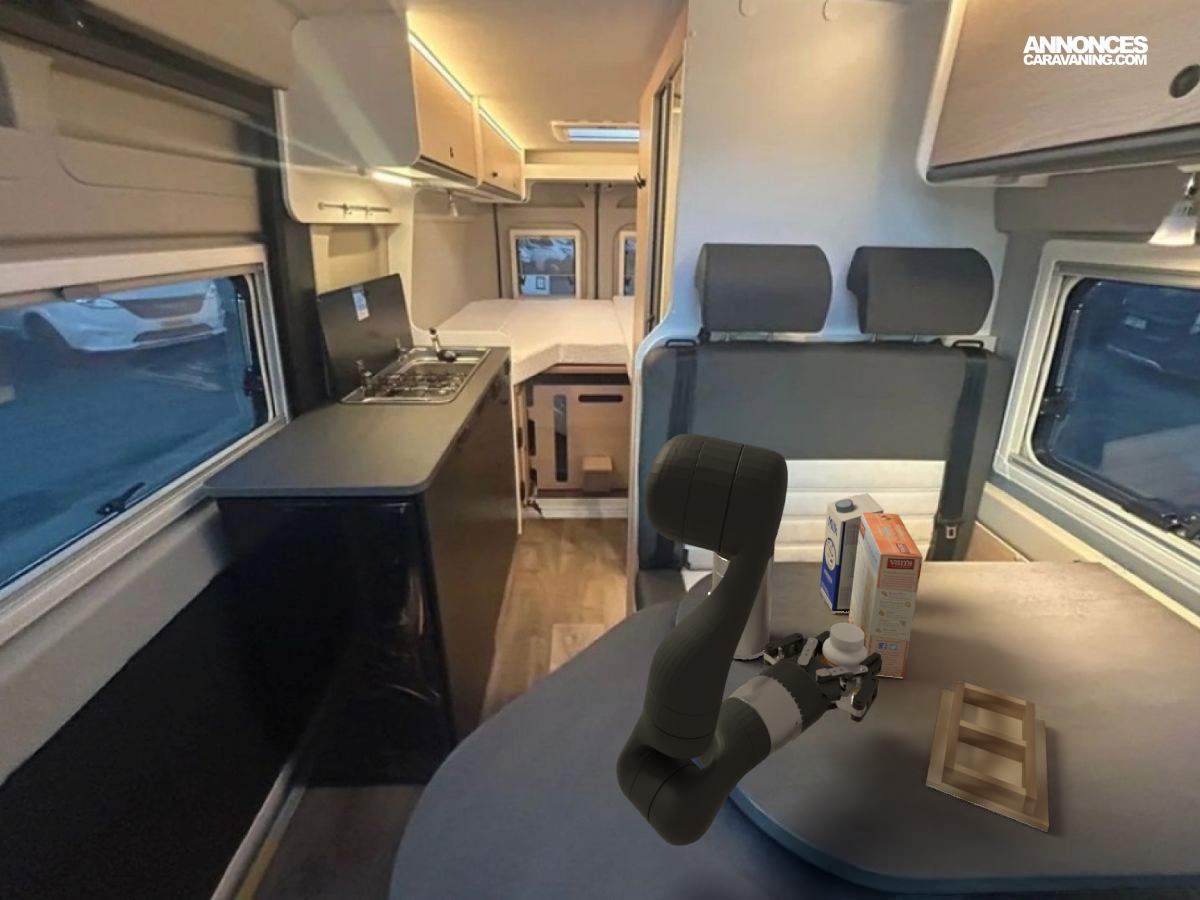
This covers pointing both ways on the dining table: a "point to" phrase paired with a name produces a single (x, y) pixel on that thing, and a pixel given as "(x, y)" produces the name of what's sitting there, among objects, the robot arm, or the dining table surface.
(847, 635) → the supplement bottle
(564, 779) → the dining table surface
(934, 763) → the tray
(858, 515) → the milk carton
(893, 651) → the cracker box
